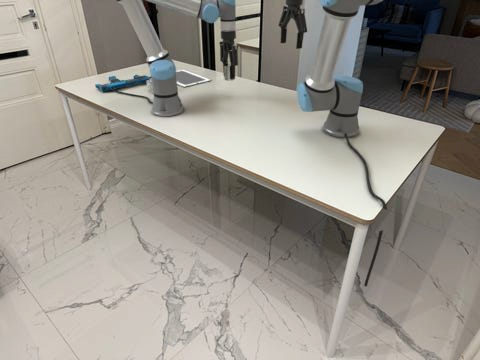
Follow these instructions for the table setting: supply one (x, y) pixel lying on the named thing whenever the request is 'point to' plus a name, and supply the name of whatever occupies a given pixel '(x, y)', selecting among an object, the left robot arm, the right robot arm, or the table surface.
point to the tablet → (189, 78)
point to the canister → (227, 72)
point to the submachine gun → (122, 82)
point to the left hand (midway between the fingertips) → (229, 77)
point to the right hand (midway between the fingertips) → (290, 45)
